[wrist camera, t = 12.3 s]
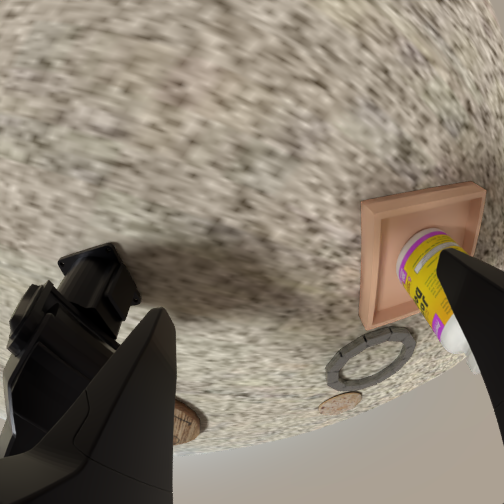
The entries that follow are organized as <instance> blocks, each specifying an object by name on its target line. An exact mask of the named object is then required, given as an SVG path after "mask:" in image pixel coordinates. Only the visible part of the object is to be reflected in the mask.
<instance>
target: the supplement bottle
mask: <svg viewBox="0 0 504 504" xmlns="http://www.w3.org/2000/svg"><path fill="white" fill-rule="evenodd" d="M446 248H454V249H456V250H459V251H461V252H463V253H465V254H467V253H466V252H465V251H464V250H463V249H462V248H461V247H460V246H459V245H458V244H457V243H456V242H455V241H454V240H453V239H452V238H451V237H449V236H448V235H447V234H446V233H445V232H444V231H442V230H440V229H437V228H428V229H424V230H422V231H420V232H418V233H417V234H415V235H414V236H413V237H412V238H410V239H409V240H408V242H407V243H406V244H405V245H404V247H403V248H402V250H401V252H400V254H399V256H398V259H397V263H396V273H397V277H398V279H399V281H400V282H401V284H402V285H403V287H404V288H405V289H406V291H407V292H408V294H409V295H410V297H411V298H412V299H413V301H414V302H415V304H416V305H417V307H418V308H419V310H420V311H421V313H422V314H423V316H424V317H425V319H426V320H427V322H428V323H429V325H430V326H431V328H432V329H433V331H434V333H435V334H436V336H437V337H438V339H439V341H440V342H441V344H442V345H443V347H444V348H445V350H447V351H448V352H450V353H453V354H460V353H465V355H466V359H467V364H468V366H469V368H470V369H471V371H472V373H473V374H479V373H481V372H480V370H479V367H478V365H477V362H476V360H475V358H474V355H473V353H472V351H471V349H470V346H469V344H468V342H467V340H466V338H465V336H464V334H463V332H462V330H461V327H460V325H459V323H458V321H457V320H456V318H455V315H454V313H453V311H452V309H451V307H450V304H449V302H448V300H447V297H446V295H445V293H444V290H443V288H442V286H441V284H440V281H439V279H438V277H437V274H436V268H437V264H438V260H439V255H440V252H441V251H442V250H443V249H446Z"/></svg>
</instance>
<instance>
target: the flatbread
mask: <svg viewBox="0 0 504 504" xmlns="http://www.w3.org/2000/svg"><path fill="white" fill-rule="evenodd" d="M360 401H361V394H359V393H356V392H351V393H345V394H342V395H338V396H335V397H333V398H331V399H329V400H327V401H325V402H323V403H322V404H321V405H320V406H319V412H320V413H321V414H323V415H337V414H339V413H342V412H344V411H347V410H349V409H352V408H354V407H355V406H356V405H357V404H358V403H359V402H360Z"/></svg>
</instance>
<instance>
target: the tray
mask: <svg viewBox="0 0 504 504" xmlns="http://www.w3.org/2000/svg"><path fill="white" fill-rule="evenodd" d="M486 191H487V190H485V189H483V188H482V187H480V186H478V185H477V184H475V183H473V182H472V181H468V182H462V183H456V184H450V185H444V186H438V187H432V188H427V189H421V190H416V191H410V192H405V193H399V194H394V195H389V196H384V197H378V198H373V199H368V200H363V201H361V281H360V300H359V314H358V315H359V317H360V319H361V321H362V323H363V325H364V327H365V329H366V331H367V330H371V329H374V328H377V327H380V326H383V325H386V324H389V323H392V322H395V321H398V320H401V319H403V318H406V317H409V316H412V315H414V314H417V313H420V312H421V311H420V310H419V308H418V307H417V305H416V304H415V302H414V301H413V299H412V298H411V297H410V295H409V294H408V292H407V291H406V289H405V288H404V287H403V285H402V284H401V282H400V281H399V279H398V277H397V273H396V263H397V259H398V256H399V254H400V252H401V250H402V248H403V247H404V245H405V244H406V243H407V242H408V240H409V239H410V238H412V237H413V236H414V235H415V234H417V233H418V232H420V231H422V230H424V229H428V228H437V229H440V230H442V231H444V232H445V233H446V234H447V235H448V236H449V237H451V238H452V239H453V240H454V241H455V242H456V243H457V244H458V245H459V246H460V247H461V248H462V249H463V250H464V251H465V252H466V253H467V254H468V255H470V256H472V257H473V256H474V252H475V248H476V244H477V240H478V236H479V231H480V226H481V221H482V216H483V210H484V204H485V198H486Z"/></svg>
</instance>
